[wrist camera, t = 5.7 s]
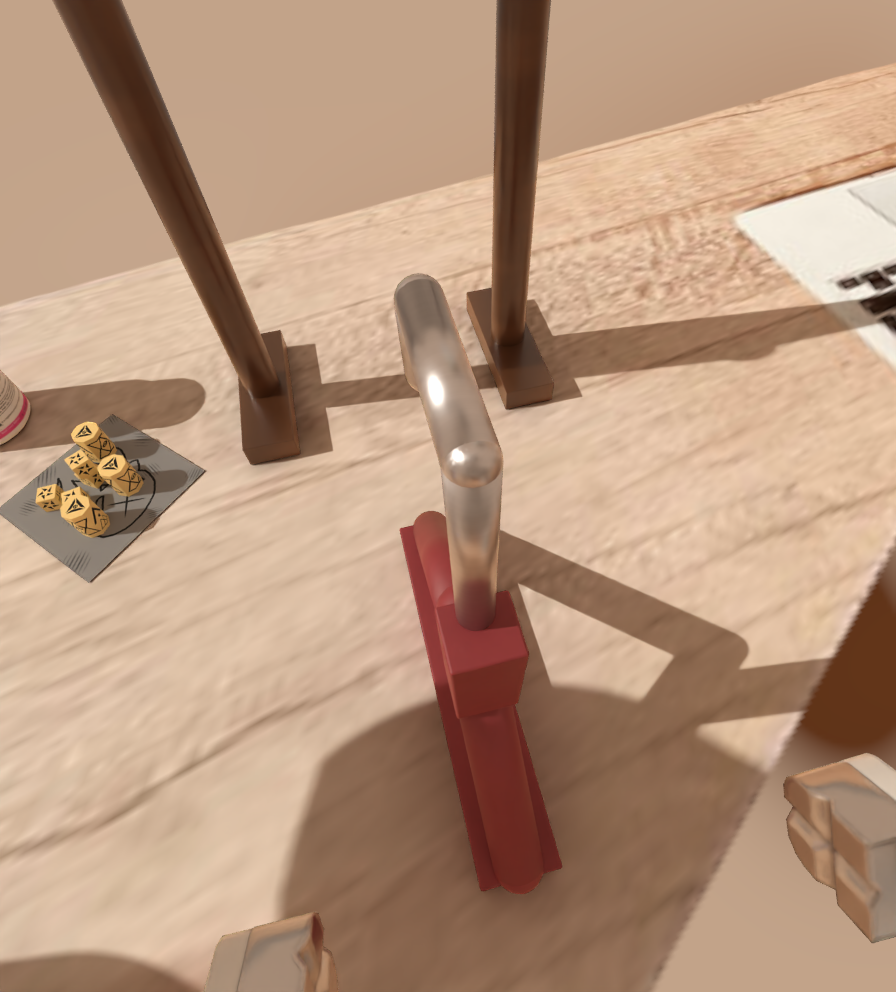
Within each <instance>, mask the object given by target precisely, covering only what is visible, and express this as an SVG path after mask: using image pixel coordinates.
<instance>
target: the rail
mask: <svg viewBox="0 0 896 992" xmlns="http://www.w3.org/2000/svg"><path fill="white" fill-rule="evenodd" d="M53 2H54V4H55V6H56V9H57V10H58V12H59V14H60V17H61V19H62V20H63V23H64V25H65V27H66V29H67V31H68V33H69V35H70V37H71V39H72V41H73V43H74V45H75V47H76V49H77V51H78V53H79V55H80V56H81V59H82V61H83V63H84V65H85V67H86V69H87V71H88V73H89V75H90V77H91V79H92V81H93V83H94V85H95V87H96V89H97V91H98V93H99V95H100V97H101V99H102V101H103V103H104V105H105V107H106V109H107V112H108V113H109V115H110V117H111V119H112V122H113V124H114V125H115V128H116V130H117V132H118V134H119V136H120V138H121V140H122V142H123V143H124V146H125V148H126V150H127V152H128V154H129V156H130V158H131V160H132V162H133V164H134V166H135V168H136V170H137V172H138V174H139V176H140V178H141V180H142V182H143V184H144V186H145V188H146V190H147V192H148V194H149V196H150V198H151V200H152V202H153V204H154V206H155V208H156V210H157V212H158V215H159V216H160V219H161V220H162V223H163V225H164V227H165V229H166V231H167V233H168V235H169V237H170V239H171V241H172V243H173V245H174V247H175V249H176V251H177V253H178V255H179V257H180V259H181V261H182V263H183V265H184V267H185V269H186V271H187V273H188V275H189V277H190V279H191V281H192V283H193V285H194V287H195V289H196V291H197V293H198V295H199V297H200V299H201V301H202V303H203V305H204V307H205V309H206V311H207V314H208V316H209V318H210V320H211V322H212V324H213V326H214V328H215V330H216V332H217V334H218V336H219V338H220V340H221V342H222V344H223V346H224V348H225V350H226V352H227V354H228V356H229V358H230V360H231V362H232V364H233V366H234V368H235V370H236V372H237V374H238V381H239V397H240V414H241V430H242V447H243V452H244V453H245V455H246V457H247V459H248V460H249V462H250V464H251V465H253V464H257V463H262V462H266V461H271V460H276V459H280V458H285V457H289V456H294V455H299V454H300V447H299V440H298V432H297V424H296V416H295V408H294V401H293V393H292V385H291V377H290V369H289V362H288V354H287V346H286V343H285V341H284V338H283V335H282V333H281V331H280V330H278V331H273V332H268V333H263V334H260V332H259V330H258V327H257V325H256V322H255V320H254V318H253V315H252V313H251V310H250V308H249V305H248V303H247V301H246V298H245V296H244V293H243V291H242V289H241V286H240V284H239V281H238V279H237V277H236V274H235V272H234V269H233V267H232V265H231V262H230V260H229V257H228V255H227V252H226V250H225V248H224V245H223V243H222V241H221V238H220V236H219V233H218V231H217V228H216V226H215V224H214V221H213V219H212V216H211V214H210V212H209V209H208V207H207V204H206V202H205V199H204V197H203V195H202V192H201V190H200V187H199V185H198V183H197V180H196V178H195V175H194V173H193V171H192V168H191V166H190V163H189V161H188V159H187V156H186V154H185V151H184V149H183V146H182V144H181V142H180V139H179V137H178V134H177V132H176V130H175V127H174V125H173V122H172V120H171V118H170V115H169V113H168V110H167V108H166V105H165V103H164V101H163V98H162V96H161V93H160V91H159V89H158V86H157V84H156V81H155V79H154V77H153V74H152V72H151V70H150V67H149V65H148V62H147V60H146V57H145V55H144V53H143V50H142V48H141V45H140V43H139V41H138V38H137V36H136V33H135V31H134V28H133V26H132V24H131V21H130V19H129V16H128V14H127V12H126V9H125V7H124V5H123V2H122V0H53ZM550 5H551V0H497V13H496V70H495V72H496V73H495V128H494V131H495V132H494V184H493V242H492V288H488V289H483V290H478V291H473V292H468V293H467V311H468V314H469V316H470V319H471V321H472V324H473V326H474V329H475V332H476V334H477V337H478V339H479V342H480V344H481V347H482V350H483V352H484V355H485V357H486V360H487V362H488V365H489V367H490V370H491V373H492V375H493V378H494V380H495V383H496V385H497V388H498V391H499V393H500V396H501V398H502V401H503V403H504V406H505V408H506V409H510V408H514V407H519V406H524V405H528V404H533V403H537V402H542V401H546V400H551V399H552V393H553V386H554V382H553V380H552V378H551V376H550V373H549V371H548V369H547V367H546V365H545V363H544V361H543V358H542V356H541V354H540V352H539V350H538V348H537V345H536V343H535V341H534V339H533V337H532V335H531V333H530V330H529V328H528V326H527V324H526V322H525V319H526V306H527V293H528V281H529V268H530V256H531V243H532V231H533V218H534V206H535V193H536V181H537V168H538V156H539V143H540V142H539V141H540V131H541V118H542V117H541V116H542V105H543V93H544V80H545V68H546V55H547V42H548V30H549V17H550Z"/></svg>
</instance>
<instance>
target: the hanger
mask: <svg viewBox="0 0 896 992" xmlns="http://www.w3.org/2000/svg"><path fill="white" fill-rule="evenodd" d="M394 308H395V314H396V321H397V327H398V333H399V340H400V346H401V353H402V359H403V366H404V372H405V377H406V380H407V382H408V383H409V385H410V386H411V387H412V388H413V389H415V390H416V391H418V392H419V394H420V397H421V401H422V404H423V408H424V411H425V415H426V418H427V422H428V425H429V429H430V432H431V436H432V439H433V442H434V446H435V449H436V453H437V456H438V460H439V463H440V467H441V475H442V485H443V495H444V505H445V514H446V517H445V516H444V515H442V514H441V513H439V512H436V511H427V512H424V513H422V514H421V515H420V516H418V518H417V519H416V520H415V522H414V525H413V526H409V527H404V528H401V529H400V534H401V538H402V543H403V547H404V552H405V556H406V561H407V565H408V569H409V574H410V578H411V583H412V587H413V592H414V596H415V601H416V605H417V610H418V614H419V618H420V623H421V627H422V632H423V636H424V641H425V645H426V650H427V654H428V658H429V663H430V667H431V672H432V676H433V681H434V685H435V690H436V694H437V699H438V703H439V707H440V712H441V716H442V721H443V725H444V730H445V734H446V739H447V743H448V747H449V752H450V756H451V761H452V765H453V770H454V774H455V779H456V783H457V788H458V792H459V796H460V801H461V805H462V810H463V814H464V819H465V823H466V828H467V832H468V836H469V841H470V845H471V850H472V854H473V859H474V863H475V868H476V872H477V877H478V881H479V885H480V889H481V891H486V890H489V889H493V888H496V887H499V886H503V887H504V888H505V889H506V890H508V891H509V892H512V893H515V894H525V893H528V892H530V891H532V890H533V889H534V888H535V887H537V885H538V884H539V882H540V880H541V878H542V875H543V874H544V873H547V872H551V871H554V870H558V869H561V868H562V863H561V860H560V856H559V853H558V849H557V846H556V843H555V839H554V836H553V832H552V829H551V826H550V822H549V819H548V815H547V812H546V809H545V805H544V802H543V798H542V795H541V791H540V788H539V785H538V781H537V778H536V774H535V771H534V768H533V764H532V761H531V757H530V754H529V751H528V747H527V744H526V740H525V737H524V734H523V730H522V727H521V723H520V720H519V717H518V713H517V710H516V706H515V704H517V703H518V701H519V697H520V692H521V688H522V683H523V679H524V675H525V670H526V666H527V661H528V657H529V651H528V648H527V645H526V642H525V639H524V636H523V633H522V630H521V626H520V623H519V620H518V617H517V614H516V611H515V608H514V605H513V602H512V598H511V595H510V593H509V591H501V592H497V593H496V588H497V569H498V551H499V532H500V514H501V495H502V477H503V455H502V451H501V448H500V445H499V442H498V440H497V437H496V434H495V432H494V429H493V426H492V423H491V421H490V418H489V415H488V412H487V410H486V407H485V404H484V401H483V399H482V396H481V393H480V390H479V388H478V385H477V382H476V380H475V377H474V374H473V371H472V369H471V366H470V363H469V360H468V358H467V355H466V352H465V349H464V347H463V344H462V341H461V338H460V336H459V333H458V330H457V328H456V325H455V322H454V319H453V317H452V314H451V311H450V308H449V306H448V303H447V300H446V297H445V295H444V292H443V290H442V288H441V286H440V284H439V283H438V282H437V281H436V280H435V279H434V278H432V277H431V276H428V275H425V274H412V275H410V276H407V277H406V278H404V279H403V280H402V281H401V282H400V283H399V284H398V286H397V288H396V290H395V294H394Z"/></svg>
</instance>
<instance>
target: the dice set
mask: <svg viewBox="0 0 896 992" xmlns="http://www.w3.org/2000/svg"><path fill="white" fill-rule="evenodd" d="M71 436H72V439H73V441H74V442H75V443H76V445H77V446H78V447H79V448H80V449H79V450H77V451H75V452H74V453H72V454H71V455H69V456H67V457H66V458H64V459H63V460H64V462H65V463H66V464H67V466H68V467H69V468H70V469H71V470H72V471H73V472H74V474H73V475H74V476H75V477H76V478H77V479H78V480H79V481H80V482H81V483H82V484H84V485H86V486H90V487H93V488H96V489H97V488H99V487H100V485H101V484H102V482H103V481H105V482H106V483H107V484H108V485H109V486H110V487H111V488H112V489H113V490H114V491H115V492H116V493H117V494H118V495H120V496H124V497H125V496H131V495H132V494H133V493H137V492H138V491H139V490H140V489H141V486H142V484H143V483H144V481H143V479H142V477H141V475H140V474H139V473H138V472H137V470H136V469H135V468H134V467H133V466H132V465H131V464H130V462H129V461H128V460H127V459H126V458H125V457H124V455H123V454H115V453H116V452H117V448H116V446H115V444H114V442H113V441H112V440H111V439H110V438H109V436H108V435H107V434H106V433H105V432H104V431H103V430H102V428H101V427H100V426H98V425H97V424H96V423H93V422H85V423H82V424H80V425H78V426H76V427H75V429H74V430H73V432H72V433H71ZM35 504H36V505H37V506H39V507H40V508H41V509H42V510H44V511H45V512H51V511H54V510H57V509H59V511H60V517H61V518H62V519H64V520H65V521H66V522H67V523H68V524H70V525H71V526H72V527H73V528H74V529H76V530H77V531H78V532H79V533H80V534H82V535H84V536H86V537H90V538H92V537H97V536H98V535H100V534H102V533H104V532H105V530H106V529H107V527H108V526H109V525H110V521H109V520H110V519H109V515H108V514H107V513H106V512H104V511H103V510H102V509H101V508H100V507H99V506H98V505H97V504H96V503H95V502H94V501H93V500H92V499H91V498H90V495H89V494H88V493H87V492H86V491H85V490H84V489H83V488H82V487H81V486H77V487H74V488H71V489H69V490H66V491H64V490H63V489H62V488H61V487H60V486H59V485H58V484H57V483H53V484H49V485H45V486H40V487H37V488H36V495H35Z"/></svg>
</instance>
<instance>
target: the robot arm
mask: <svg viewBox="0 0 896 992" xmlns="http://www.w3.org/2000/svg"><path fill="white" fill-rule="evenodd" d="M783 786H784V797H785V798H786V799H787V800H788V801H789V802H790V803H791V804H792V806H793V807H792V809H791V811H790V813H789V815H788V817H787V819H786V821H787V829H788V836H789V839H790V841H791V843H792V845H793V848H794V850H795V853H796V855H797V856H798V858H799V859H800V861H801V862H802V864H803V865H804V867H805V868H806V869H807V870H808V872H809V873H810V874H811V875H812V876H813V878H814V879H815V880H816V881H818V882H820V883H822V884H825V885H826V886H829V887H831V888H833V889H835V890H836V896H837V904H838V906H839V907H840V908H841V909H842V910H843V911H844V912H845V914H846V915H847V916H848V917H849V918H850V919H851V920H852V921H853V923H854V924H855V925H856V926H857V927H858V928H859V929H860V930H861V931H862V933H863V934H864V935H865V936H866V937H867V938H868V939H869V940H870V942H871V943H875V942H879V941H882V940H886V939H890V938H894V937H896V770H894V769H893V768H892V767H890V766H889V765H888V764H886V763H885V762H883V761H882V760H881V759H879V758H878V757H877V756H874V755H871V754H869V753H865V754H862V755H859V756H855V757H852V758H849V759H845V760H842V761H840V762H836V763H832V764H829V765H825V766H822V767H819V768H815V769H812V770H808V771H805V772H802V773H798V774H795V775H792V776H788V777H786V779H785V782H784V784H783ZM323 936H324V928H323V925H322V922H321V919H320V916H319V913H317V912H311V913H307V914H304V915H300V916H296V917H292V918H288V919H284V920H280V921H276V922H272V923H268V924H264V925H260V926H256V927H254V928H252V929H248V930H244V931H240V932H236V933H232V934H228V935H224V936H222V938H221V939H220V941H219V942H218V944H217V946H216V948H215V952H214V955H213V959H212V962H211V966H210V970H209V973H208V977H207V981H206V984H205V988H204V991H203V992H338V980H337V974H336V969H335V963H334V960H333V957H332V953H331V951H330V950H328V949H326V948H325V947H323Z"/></svg>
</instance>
